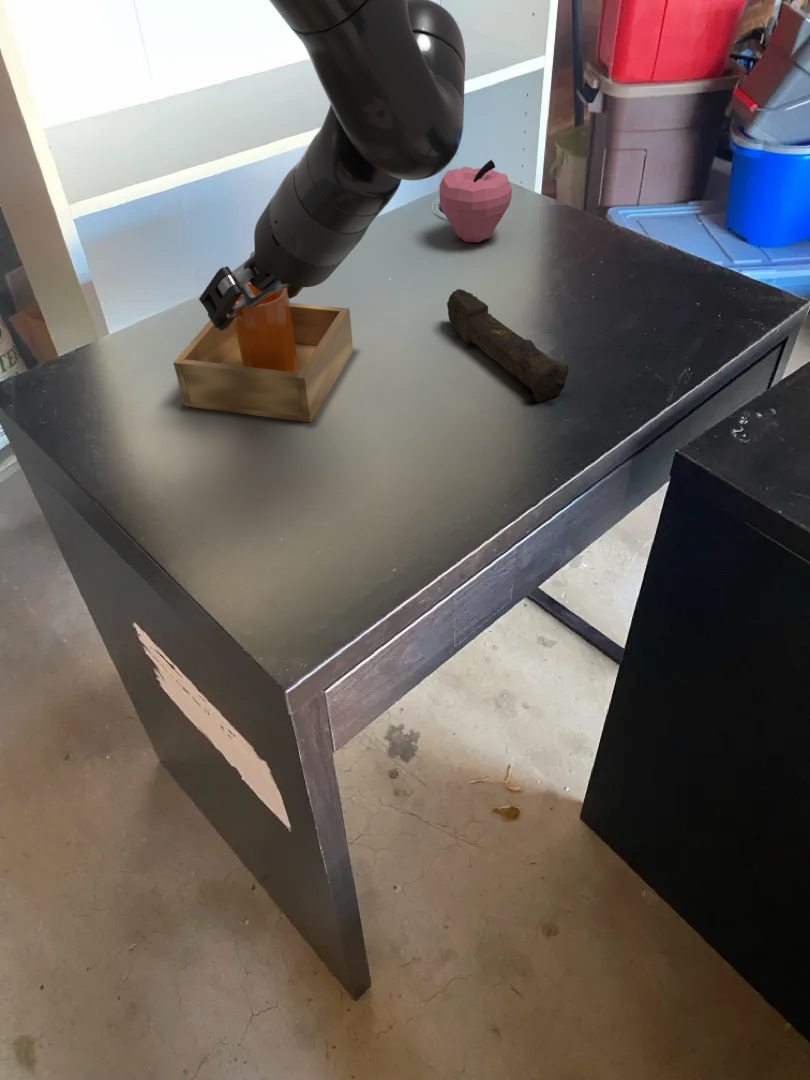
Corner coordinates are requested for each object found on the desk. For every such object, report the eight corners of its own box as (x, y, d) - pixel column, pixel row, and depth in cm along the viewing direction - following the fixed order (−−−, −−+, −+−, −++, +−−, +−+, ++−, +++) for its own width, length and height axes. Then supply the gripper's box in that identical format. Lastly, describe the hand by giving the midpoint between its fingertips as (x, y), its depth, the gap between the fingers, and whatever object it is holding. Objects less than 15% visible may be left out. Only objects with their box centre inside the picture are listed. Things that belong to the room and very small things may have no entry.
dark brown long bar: (568, 395, 82) (573, 354, 79) (534, 407, 81) (538, 365, 78) (470, 315, 95) (471, 277, 91) (439, 324, 93) (439, 286, 90)
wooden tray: (184, 406, 83) (172, 362, 80) (238, 338, 93) (230, 296, 89) (311, 422, 80) (304, 378, 77) (353, 350, 90) (349, 308, 86)
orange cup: (237, 384, 85) (220, 303, 79) (257, 355, 89) (243, 277, 82) (287, 390, 84) (274, 309, 77) (306, 361, 87) (295, 281, 81)
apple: (480, 218, 114) (482, 142, 107) (523, 238, 109) (528, 159, 102) (425, 238, 110) (424, 160, 103) (468, 260, 105) (469, 179, 98)
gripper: (354, 156, 71) (287, 247, 85) (218, 207, 64) (170, 297, 78) (400, 233, 72) (326, 311, 86) (270, 292, 65) (214, 366, 79)
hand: (252, 304), depth 82 cm, fingers open, 8 cm apart
